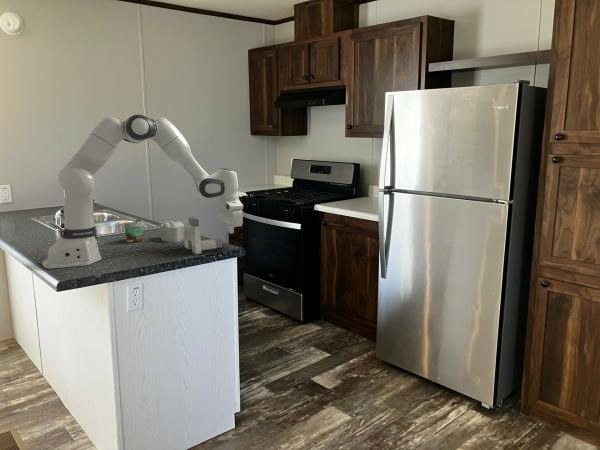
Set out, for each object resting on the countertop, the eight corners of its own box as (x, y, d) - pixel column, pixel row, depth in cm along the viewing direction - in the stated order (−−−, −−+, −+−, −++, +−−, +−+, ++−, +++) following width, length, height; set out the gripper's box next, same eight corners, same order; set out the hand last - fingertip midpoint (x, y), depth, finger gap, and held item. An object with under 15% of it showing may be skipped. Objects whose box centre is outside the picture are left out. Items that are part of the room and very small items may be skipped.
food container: (137, 244, 240) (135, 223, 238) (125, 244, 242) (123, 223, 240) (149, 238, 252) (148, 219, 250) (138, 238, 253) (137, 218, 252)
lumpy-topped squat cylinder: (173, 242, 244) (172, 225, 242) (155, 239, 251) (154, 222, 249) (189, 238, 252) (188, 221, 250) (172, 235, 259) (171, 219, 258)
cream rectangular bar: (195, 251, 227) (195, 243, 226) (193, 249, 230) (192, 241, 229) (222, 247, 233) (221, 239, 233) (219, 245, 236) (218, 238, 236)
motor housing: (195, 254, 221) (194, 220, 218) (184, 247, 234) (183, 215, 231) (201, 253, 223) (199, 219, 220) (190, 246, 235) (188, 214, 232)
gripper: (214, 201, 241) (216, 229, 244) (231, 207, 224) (233, 237, 226) (226, 200, 244) (228, 228, 247) (244, 205, 227) (246, 235, 230)
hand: (230, 232), depth 237 cm, fingers closed
